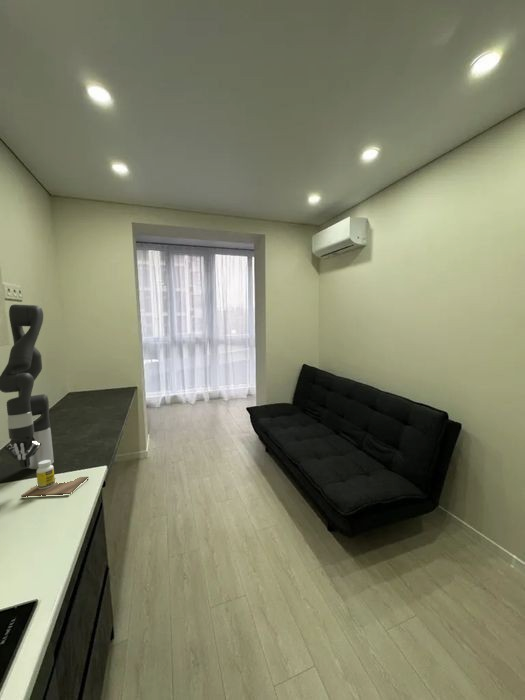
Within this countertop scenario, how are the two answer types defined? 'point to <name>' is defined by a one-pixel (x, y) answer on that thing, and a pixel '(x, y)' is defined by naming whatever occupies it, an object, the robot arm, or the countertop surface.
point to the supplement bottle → (45, 474)
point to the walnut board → (55, 488)
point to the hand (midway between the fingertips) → (25, 467)
